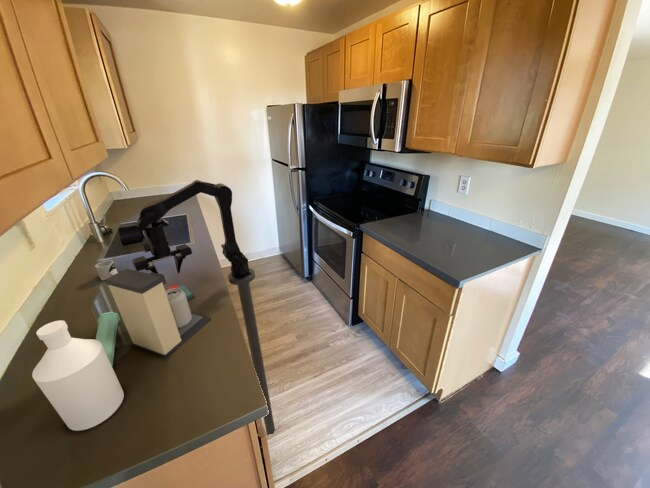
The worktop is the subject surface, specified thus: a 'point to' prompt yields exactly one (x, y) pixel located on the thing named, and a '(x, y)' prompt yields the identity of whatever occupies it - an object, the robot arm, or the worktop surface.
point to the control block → (186, 292)
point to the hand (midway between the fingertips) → (169, 276)
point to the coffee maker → (150, 312)
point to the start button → (173, 287)
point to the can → (179, 306)
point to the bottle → (77, 378)
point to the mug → (106, 269)
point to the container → (108, 333)
